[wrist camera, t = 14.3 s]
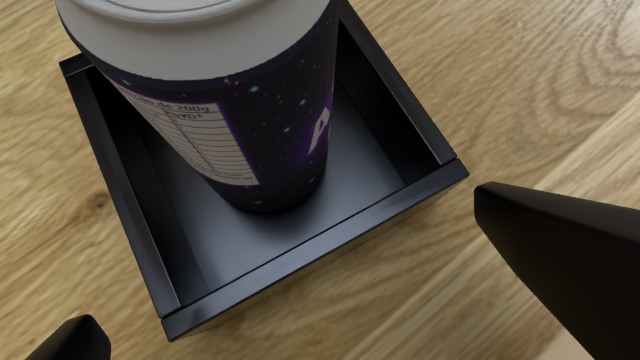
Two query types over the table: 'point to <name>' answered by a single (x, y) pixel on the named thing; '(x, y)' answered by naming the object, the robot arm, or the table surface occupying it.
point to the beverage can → (224, 84)
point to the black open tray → (274, 226)
